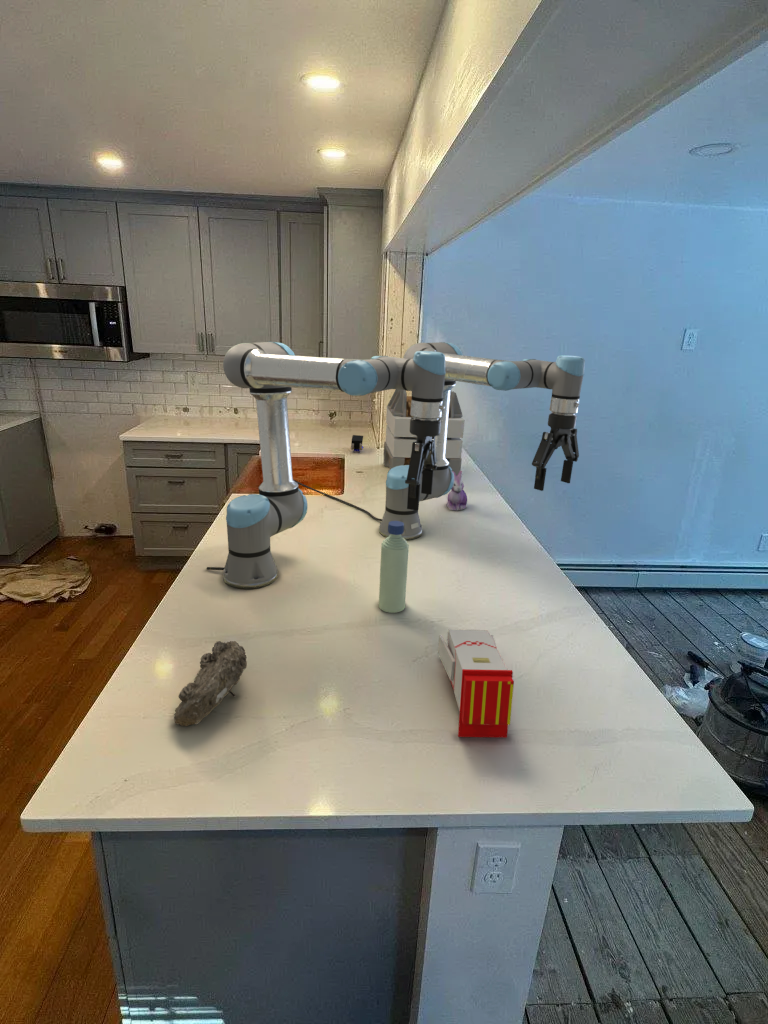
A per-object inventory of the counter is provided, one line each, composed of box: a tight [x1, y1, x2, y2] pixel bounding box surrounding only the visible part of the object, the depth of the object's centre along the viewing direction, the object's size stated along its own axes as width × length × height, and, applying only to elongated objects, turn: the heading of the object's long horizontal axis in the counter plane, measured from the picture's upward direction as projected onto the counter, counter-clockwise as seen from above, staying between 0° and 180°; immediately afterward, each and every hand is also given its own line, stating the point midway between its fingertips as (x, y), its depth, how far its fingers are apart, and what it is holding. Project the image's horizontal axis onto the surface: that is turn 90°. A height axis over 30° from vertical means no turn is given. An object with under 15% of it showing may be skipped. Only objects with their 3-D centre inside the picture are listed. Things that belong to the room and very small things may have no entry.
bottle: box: [378, 534, 410, 614], centre depth 147 cm, size 7×7×23 cm
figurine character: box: [350, 434, 364, 454], centre depth 311 cm, size 7×8×15 cm
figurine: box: [446, 470, 468, 511], centre depth 227 cm, size 9×10×15 cm
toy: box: [437, 628, 515, 738], centre depth 117 cm, size 12×13×30 cm
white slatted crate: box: [383, 389, 465, 475], centre depth 268 cm, size 34×33×41 cm
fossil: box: [173, 640, 248, 727], centre depth 113 cm, size 22×10×15 cm
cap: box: [388, 521, 404, 535], centre depth 144 cm, size 4×4×2 cm
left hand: (419, 501), depth 144 cm, fingers open, 13 cm apart
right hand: (552, 485), depth 166 cm, fingers open, 13 cm apart
